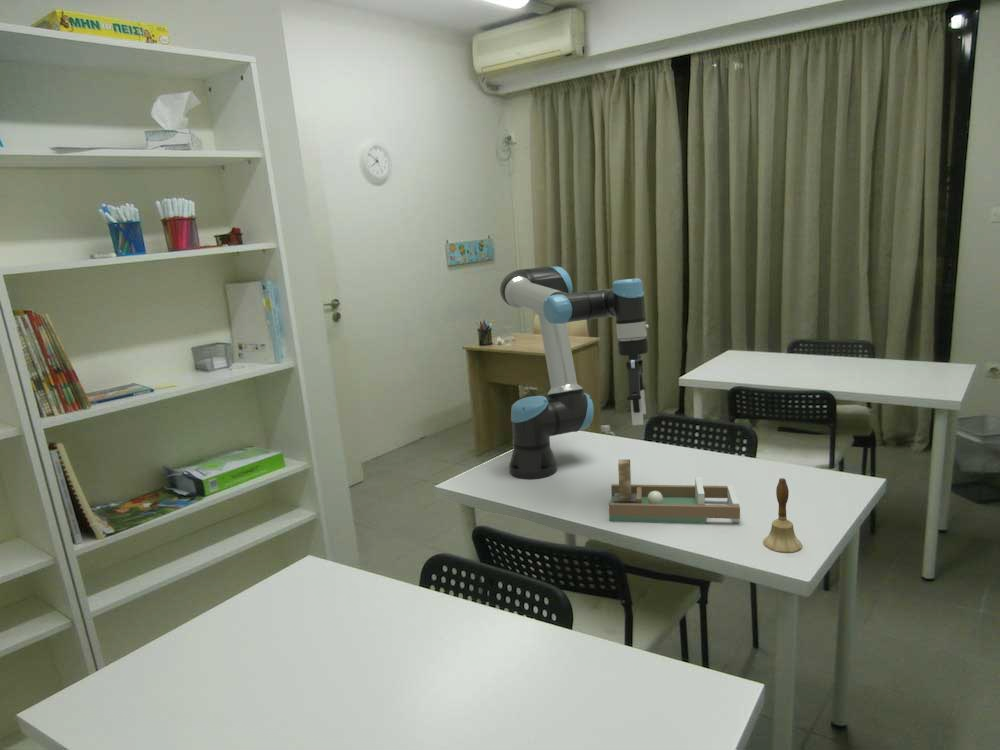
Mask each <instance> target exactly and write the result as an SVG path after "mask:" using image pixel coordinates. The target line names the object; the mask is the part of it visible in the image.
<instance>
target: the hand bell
mask: <svg viewBox="0 0 1000 750" xmlns="http://www.w3.org/2000/svg"><path fill="white" fill-rule="evenodd" d="M775 491H776V496H775V497H776V501H777V503H778V518H777V519H773V520H772V521H771V522H772V523H771V528H770V532H769V534H768V535H767V536H766V537H765V538H763V541H762V543H763V546H764V547H766V548H767V549H769V550H771V551H774V552H778V553H786V554H787V553H790V554H791V553H796V552H799V551H801V550H802V548H803V543H802V541H800V540H799V539H798V537H797V536H796V533H795V531H794V530H795V529H794V524H793V522H792V521H790V520H788V519H787V503H788V500H789V492H790V491H789V486H788V484H787V480H786V478H785V477H783V478H782V477H781V478H779V480H778V483H777V486H776V489H775Z"/></svg>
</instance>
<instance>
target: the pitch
mask: <svg viewBox="0 0 1000 750" xmlns="http://www.w3.org/2000/svg"><path fill="white" fill-rule="evenodd" d="M637 487H642V504H635V503H614V493H619V483H617V484H616V483H613V484H611V487H610V488H611V499H610V502H609V503H608V518H609V520H608V521H609V522H624V523H625V522H626V523H627V522H629V523H631V522H632V523H635V522H636V523H667V524H668V523H669V524H675V523H676V524H702V525H703V524H704V525H705V524H707V519H726V520H727V519H728V520H729V519H730V520H732V523H740V519H741V507H740V502H739V499H738V495H737V492H736V490H735V486H734V485H703V480H702V476H695V477H694V485H691V484H690V485H688V484H686V485H683V484H679V485H678V484H631V493H637ZM652 491H658V492H660V493H661V494H662V496H663V501H662V503H661V504H649V502H648V500H647V497H648V494H649V493H650V492H652ZM705 499H726V500H727V505H726V504H722V505H721V504H705V503H706V502H705Z"/></svg>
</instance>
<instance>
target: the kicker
mask: <svg viewBox="0 0 1000 750" xmlns="http://www.w3.org/2000/svg"><path fill="white" fill-rule="evenodd" d="M617 466H618V468H617V469H618V484H619V493H614V503H635V504H642V487H637V493H631V485H632V474H631V473H632V472H631V470H632V469H631V459H625V458H624V459H622V458H621V459H618V465H617Z"/></svg>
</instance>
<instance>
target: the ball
mask: <svg viewBox="0 0 1000 750" xmlns="http://www.w3.org/2000/svg"><path fill="white" fill-rule="evenodd" d="M647 500H648V502H649V504H661V503H662V501H663V496H662V494H661V493H660V492H658V491H652V492H650V493H649V494H648V497H647Z"/></svg>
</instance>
